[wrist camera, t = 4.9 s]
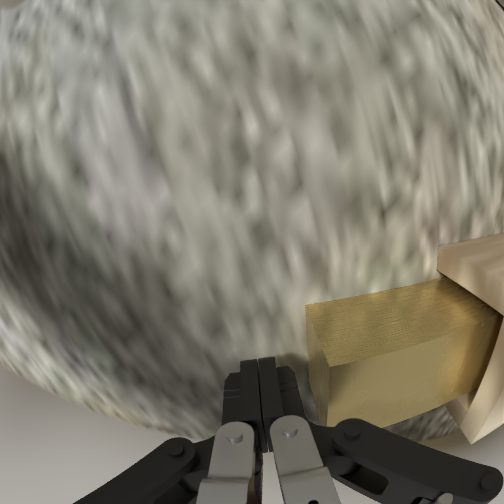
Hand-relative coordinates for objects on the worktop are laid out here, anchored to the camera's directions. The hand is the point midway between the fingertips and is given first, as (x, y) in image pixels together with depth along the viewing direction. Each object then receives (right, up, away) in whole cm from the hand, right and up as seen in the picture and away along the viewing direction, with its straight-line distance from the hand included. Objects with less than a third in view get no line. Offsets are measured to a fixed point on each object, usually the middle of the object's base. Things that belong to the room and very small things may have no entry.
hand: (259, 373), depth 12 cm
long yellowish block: (+11, +1, -1) cm, 11 cm away
